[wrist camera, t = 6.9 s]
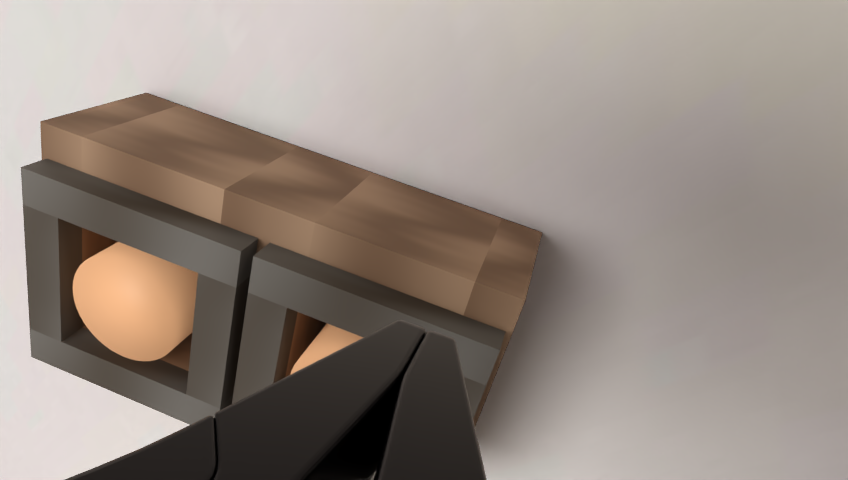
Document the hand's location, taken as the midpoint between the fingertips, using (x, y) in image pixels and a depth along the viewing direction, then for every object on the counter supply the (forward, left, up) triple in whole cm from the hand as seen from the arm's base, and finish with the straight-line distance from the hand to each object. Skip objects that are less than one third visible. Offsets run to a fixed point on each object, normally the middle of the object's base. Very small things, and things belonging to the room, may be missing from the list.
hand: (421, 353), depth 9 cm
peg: (+10, +8, -13) cm, 19 cm away
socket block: (+6, +8, -13) cm, 17 cm away
